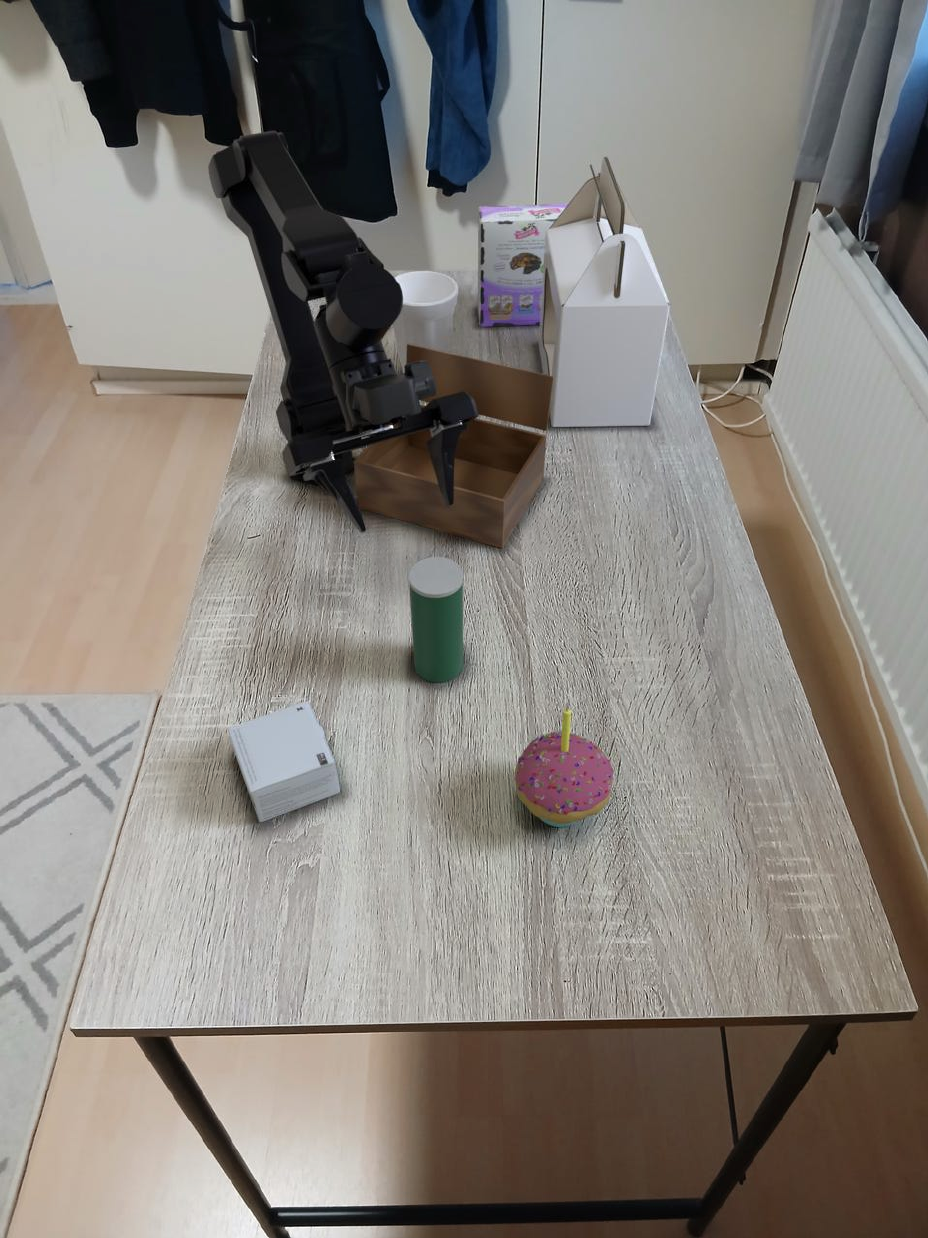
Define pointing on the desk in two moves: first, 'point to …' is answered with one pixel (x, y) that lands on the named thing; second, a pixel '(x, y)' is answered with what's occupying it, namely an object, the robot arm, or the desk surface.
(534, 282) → the candy box
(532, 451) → the snack box
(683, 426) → the desk surface
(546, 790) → the cupcake
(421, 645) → the crisps tube
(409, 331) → the cup
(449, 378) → the flap
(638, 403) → the gable box
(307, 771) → the small box
